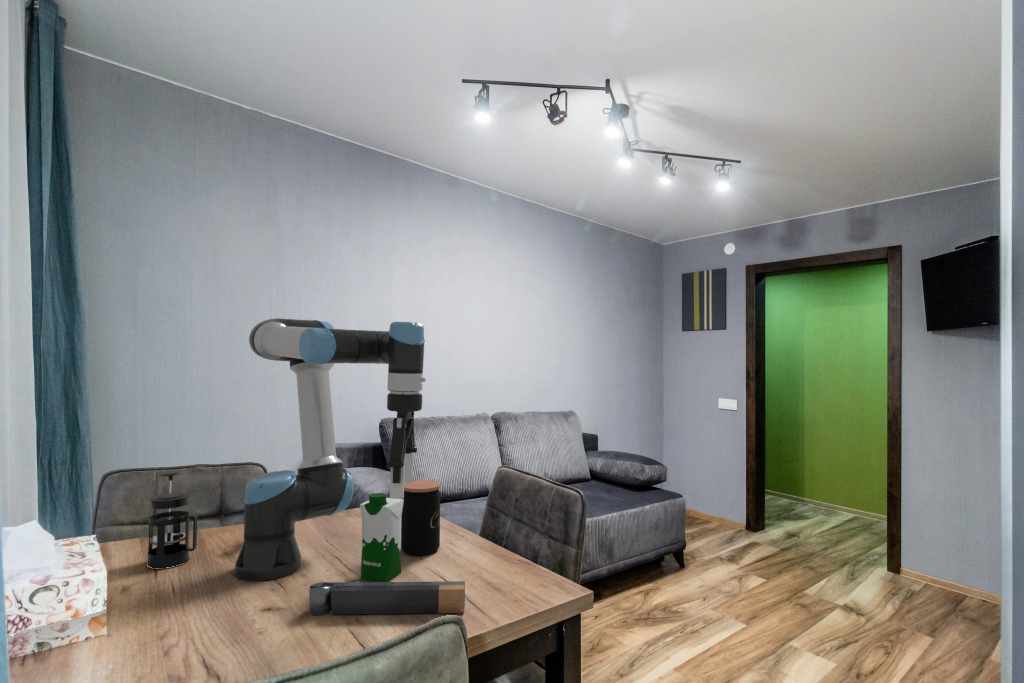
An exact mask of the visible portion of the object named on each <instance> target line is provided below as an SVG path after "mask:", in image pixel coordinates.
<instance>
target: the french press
mask: <svg viewBox="0 0 1024 683" xmlns="http://www.w3.org/2000/svg"><path fill="white" fill-rule="evenodd" d="M180 474H181V472H180V471H179V472H178V471H170V472H169V471H168V472H165V473H164V472H163V473H161V476H162V477H168V481H169V493H168V492H167V493H161V494H157V495H154V496H151V497H150V498H149V502H151V507H152V509H154V510H167V509H168V511H164V512H160V513H156V514H153V515H151V516H149V517H148V547H147V548H148V549H147V551H148V552H147V562H146V564H148V566H150V567H152V568H166V567H172V566H176V565H179V564H182V563H185V562H187V561H188V560H189V561H190V559H189V558H190V555H189V554H190V552H194V551H195V550H196V549H197V545H198V514H191V513H190V512H189V511H188V510H187V511H185V510H173V511H171V509H176V508H180V507H183V506H187V505H188V504H189V498H190V497H191V493H188V492H172V481H173V480H174V476H178V475H180ZM171 517H173V518H172V519H171ZM163 518H164V519H165V518H168V519H165V520H159V519H163ZM190 519H193V526H192V529H193V530H192V531H193V532H192V547H190V545H189V543H190V542H189V541H190ZM183 523H185V530H184V531H185V532H181V524H183ZM166 526H168V532H167V533H166ZM171 526H172V532H171ZM154 527H156V528H157V533H156V536H154ZM183 541H185V542H184V543H181V542H183ZM153 545H154V546H155V547H154V548H153ZM189 561H188V562H189ZM188 562H187V563H188ZM185 564H186V563H185Z"/></svg>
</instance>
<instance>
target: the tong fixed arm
mask: <svg viewBox="0 0 1024 683" xmlns="http://www.w3.org/2000/svg"><path fill="white" fill-rule="evenodd" d="M440 585H465V586H466V581H464V580H463V581H462V580H459V581H454V580H453V581H452V580H451V581H447V580H446V581H389V582H373V581H360V582H359V581H353V582H352V581H350V582H349V581H347V582H345V581H343V582H342V581H339V582H334V581H333V582H329V581H328V582H326V581H321V582H317V583H314V584H311V585H310V586H309V590H308V592H309V597H308V598H309V599H308V600H309V601H308V614H309V615H311V616H315V617H316V616H317V617H319V616H320V617H321V616H324V615H328V614H329V613H331V612H332V590H333V589H334V587H370V586H440ZM465 596H466V587H465V588H464V609H465V608H466V607H465V606H466V604H465V603H466V597H465Z"/></svg>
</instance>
